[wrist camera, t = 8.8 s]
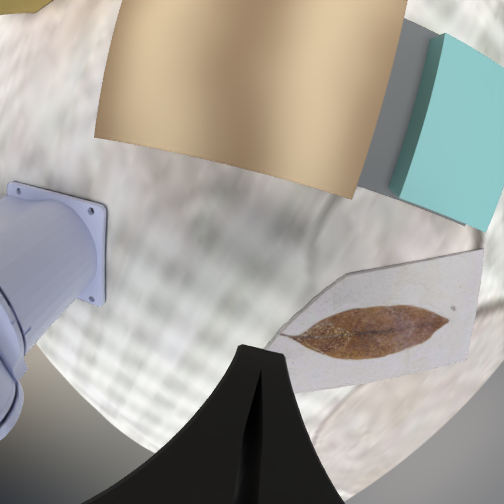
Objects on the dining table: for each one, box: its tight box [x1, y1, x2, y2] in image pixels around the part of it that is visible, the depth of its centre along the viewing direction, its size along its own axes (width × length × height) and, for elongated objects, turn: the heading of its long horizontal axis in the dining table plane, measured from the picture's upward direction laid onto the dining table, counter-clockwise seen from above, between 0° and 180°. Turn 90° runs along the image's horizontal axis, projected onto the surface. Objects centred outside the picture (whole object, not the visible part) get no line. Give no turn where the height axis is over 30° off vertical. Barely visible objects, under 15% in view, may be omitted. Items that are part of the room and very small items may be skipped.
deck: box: [94, 0, 408, 200], centre depth 13 cm, size 12×10×4 cm
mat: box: [357, 18, 466, 226], centre depth 14 cm, size 8×10×1 cm
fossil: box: [264, 248, 484, 393], centre depth 21 cm, size 16×1×10 cm
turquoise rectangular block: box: [388, 33, 504, 233], centre depth 13 cm, size 6×9×2 cm, turn 167°
